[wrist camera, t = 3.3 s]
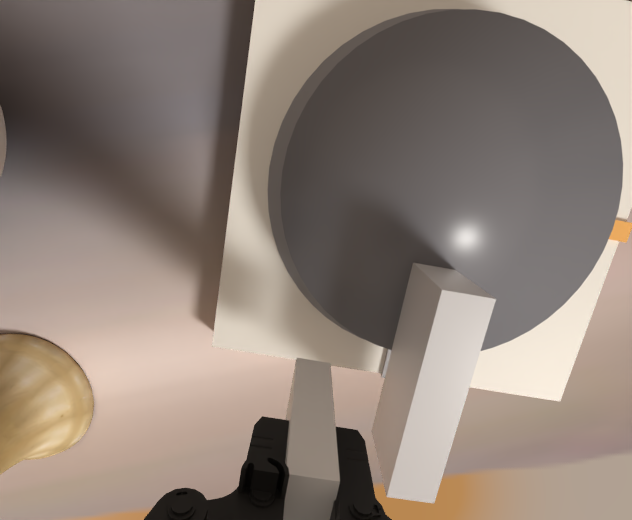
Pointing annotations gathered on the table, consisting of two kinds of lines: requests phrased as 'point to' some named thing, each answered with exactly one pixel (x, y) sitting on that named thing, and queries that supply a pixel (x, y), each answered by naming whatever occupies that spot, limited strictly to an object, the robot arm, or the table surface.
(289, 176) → the dial
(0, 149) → the decorative ball
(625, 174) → the dial plate
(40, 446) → the hand bell
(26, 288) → the table surface
